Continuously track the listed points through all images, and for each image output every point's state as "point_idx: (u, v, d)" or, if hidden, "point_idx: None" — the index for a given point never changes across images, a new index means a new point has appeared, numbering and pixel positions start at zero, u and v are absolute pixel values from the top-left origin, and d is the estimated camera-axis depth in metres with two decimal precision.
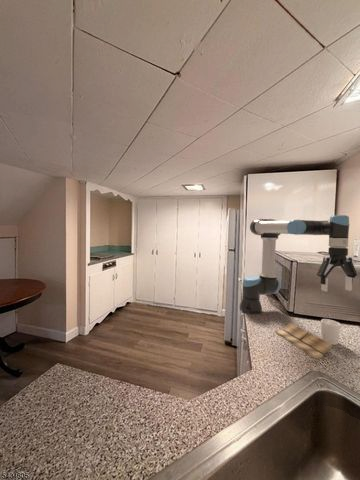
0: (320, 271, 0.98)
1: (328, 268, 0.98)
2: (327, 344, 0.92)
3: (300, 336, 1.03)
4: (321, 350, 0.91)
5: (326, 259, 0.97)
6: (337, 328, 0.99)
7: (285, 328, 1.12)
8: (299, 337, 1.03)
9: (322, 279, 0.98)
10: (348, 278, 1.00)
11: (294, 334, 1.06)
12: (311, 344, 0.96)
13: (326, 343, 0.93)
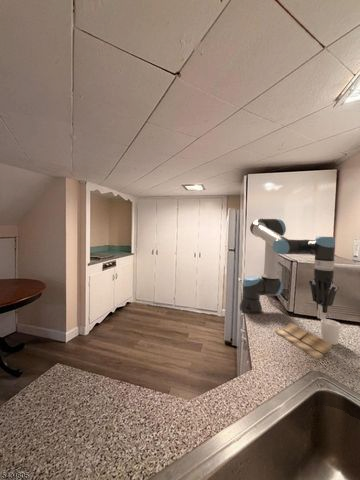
0: None
1: None
2: (327, 344, 0.92)
3: (300, 336, 1.03)
4: (321, 350, 0.91)
5: None
6: (337, 328, 0.99)
7: (285, 328, 1.12)
8: (299, 337, 1.03)
9: None
10: None
11: (294, 334, 1.06)
12: (311, 344, 0.96)
13: (326, 343, 0.93)
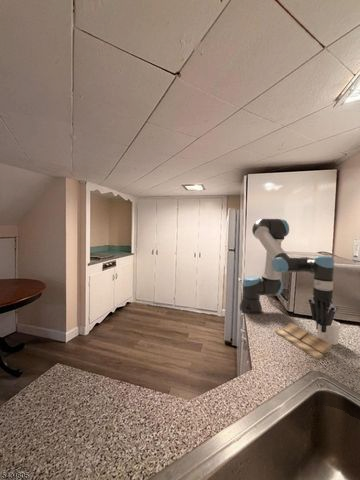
0: None
1: None
2: (327, 344, 0.92)
3: (300, 336, 1.03)
4: (321, 350, 0.91)
5: None
6: (337, 328, 0.99)
7: (285, 328, 1.12)
8: (299, 337, 1.03)
9: None
10: None
11: (294, 334, 1.06)
12: (311, 344, 0.96)
13: (326, 343, 0.93)
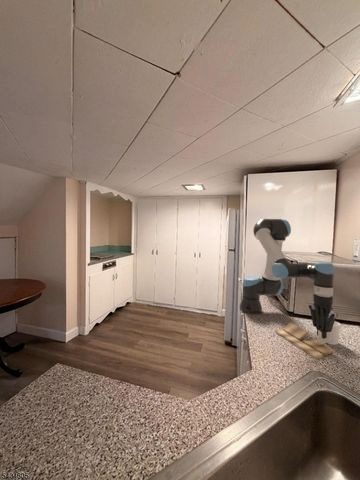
0: None
1: None
2: (329, 349, 0.93)
3: (300, 336, 1.03)
4: (322, 351, 0.92)
5: None
6: (337, 328, 0.99)
7: (285, 328, 1.12)
8: (299, 337, 1.03)
9: None
10: None
11: (294, 334, 1.06)
12: (312, 345, 0.97)
13: (328, 348, 0.94)
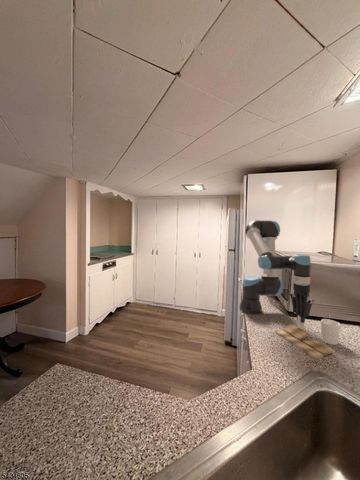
0: None
1: None
2: (329, 349, 0.93)
3: (300, 336, 1.03)
4: (322, 351, 0.92)
5: None
6: (337, 328, 0.99)
7: (285, 328, 1.12)
8: (299, 337, 1.03)
9: None
10: None
11: (294, 334, 1.06)
12: (312, 345, 0.97)
13: (328, 348, 0.94)
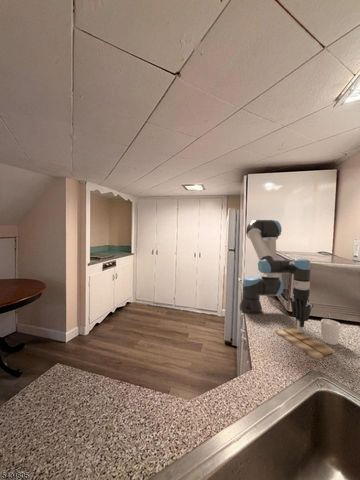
0: None
1: None
2: (329, 349, 0.93)
3: (301, 338, 1.03)
4: (322, 351, 0.92)
5: None
6: (337, 328, 0.99)
7: (286, 329, 1.12)
8: (300, 338, 1.03)
9: None
10: None
11: (295, 335, 1.06)
12: (312, 345, 0.97)
13: (328, 348, 0.94)
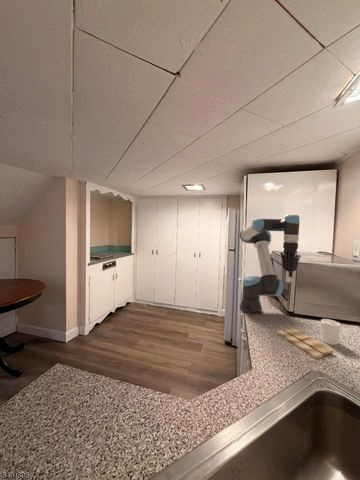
0: None
1: None
2: (329, 349, 0.93)
3: (301, 338, 1.03)
4: (322, 351, 0.92)
5: None
6: (337, 328, 0.99)
7: (286, 329, 1.12)
8: (300, 338, 1.03)
9: None
10: None
11: (295, 335, 1.06)
12: (312, 345, 0.97)
13: (328, 348, 0.94)
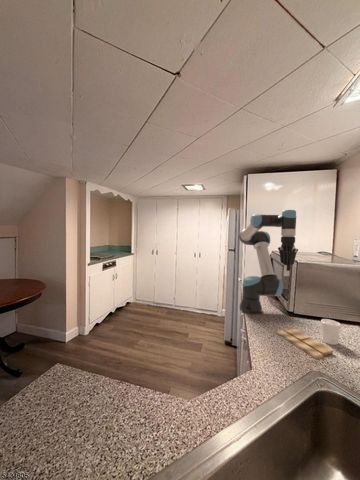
0: None
1: None
2: (329, 349, 0.93)
3: (301, 338, 1.03)
4: (322, 351, 0.92)
5: None
6: (337, 328, 0.99)
7: (286, 329, 1.12)
8: (300, 338, 1.03)
9: None
10: None
11: (295, 335, 1.06)
12: (312, 345, 0.97)
13: (328, 348, 0.94)
